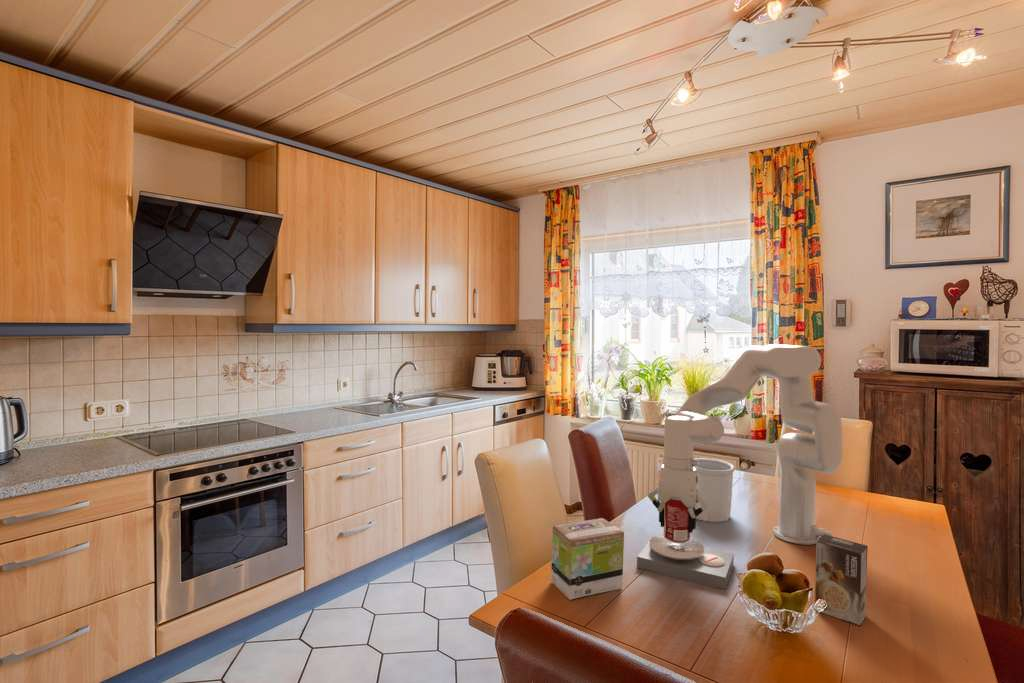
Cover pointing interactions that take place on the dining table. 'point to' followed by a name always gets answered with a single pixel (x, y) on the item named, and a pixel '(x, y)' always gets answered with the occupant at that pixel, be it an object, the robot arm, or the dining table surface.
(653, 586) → the dining table surface
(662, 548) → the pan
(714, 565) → the scale
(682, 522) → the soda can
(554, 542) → the tea box
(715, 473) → the utensil holder
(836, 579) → the coffee box
